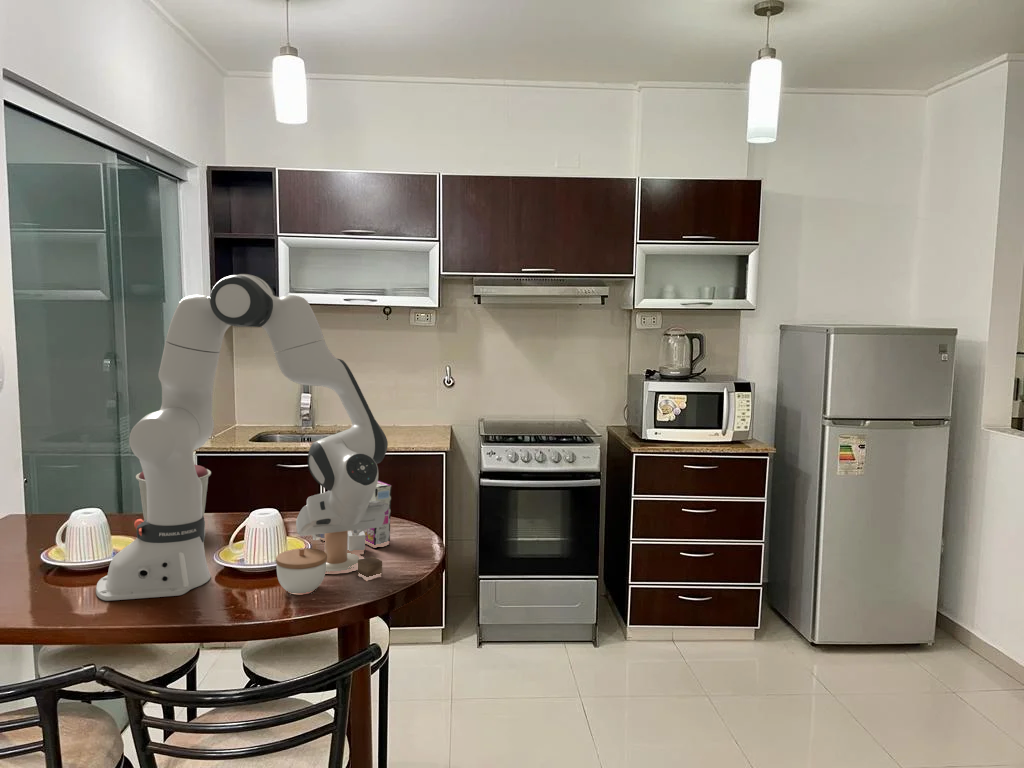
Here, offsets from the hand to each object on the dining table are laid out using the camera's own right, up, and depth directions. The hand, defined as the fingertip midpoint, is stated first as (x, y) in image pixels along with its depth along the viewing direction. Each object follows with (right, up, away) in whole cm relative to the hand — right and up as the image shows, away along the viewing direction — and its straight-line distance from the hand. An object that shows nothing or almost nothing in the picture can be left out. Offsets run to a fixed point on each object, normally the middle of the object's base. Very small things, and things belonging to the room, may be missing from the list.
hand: (335, 535), depth 175 cm
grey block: (+3, -6, +10) cm, 12 cm away
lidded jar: (-3, -9, -16) cm, 19 cm away
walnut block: (+10, -8, -7) cm, 15 cm away
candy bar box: (+5, -6, +18) cm, 19 cm away
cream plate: (0, -7, 0) cm, 7 cm away
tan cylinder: (0, -6, 0) cm, 6 cm away
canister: (-47, -4, +19) cm, 51 cm away
